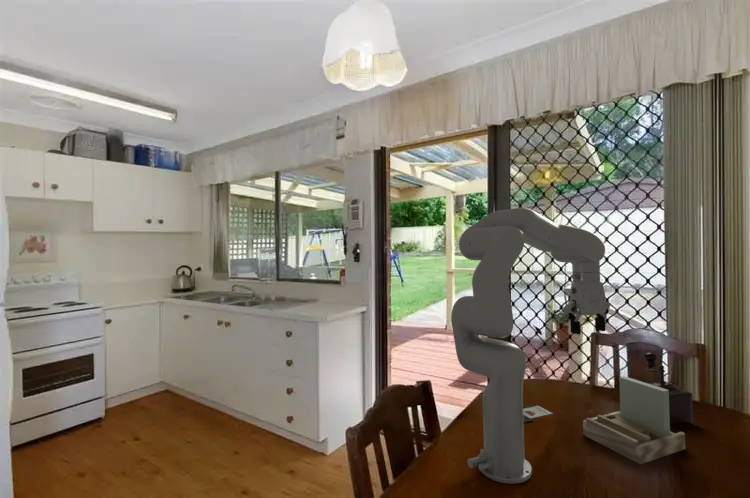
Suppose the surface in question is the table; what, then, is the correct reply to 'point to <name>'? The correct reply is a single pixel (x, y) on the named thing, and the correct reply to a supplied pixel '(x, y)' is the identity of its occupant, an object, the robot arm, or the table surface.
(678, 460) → the table surface
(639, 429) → the offcut top
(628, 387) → the sheet
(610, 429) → the rack
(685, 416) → the dark brown coffee grinder
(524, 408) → the chocolate bar
